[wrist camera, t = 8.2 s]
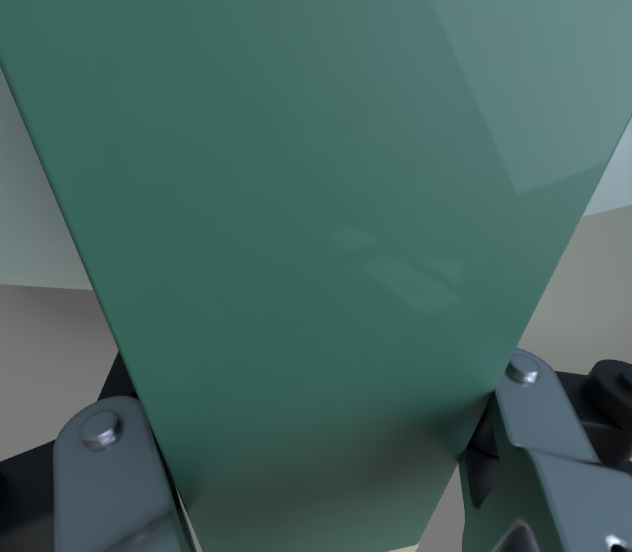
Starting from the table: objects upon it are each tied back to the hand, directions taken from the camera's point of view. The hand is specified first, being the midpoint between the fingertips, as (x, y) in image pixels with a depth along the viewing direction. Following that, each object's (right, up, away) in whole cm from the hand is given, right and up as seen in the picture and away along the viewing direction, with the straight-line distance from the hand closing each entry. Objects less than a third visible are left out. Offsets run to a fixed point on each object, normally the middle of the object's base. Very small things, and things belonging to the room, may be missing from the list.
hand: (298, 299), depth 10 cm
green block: (0, -1, -2) cm, 2 cm away
